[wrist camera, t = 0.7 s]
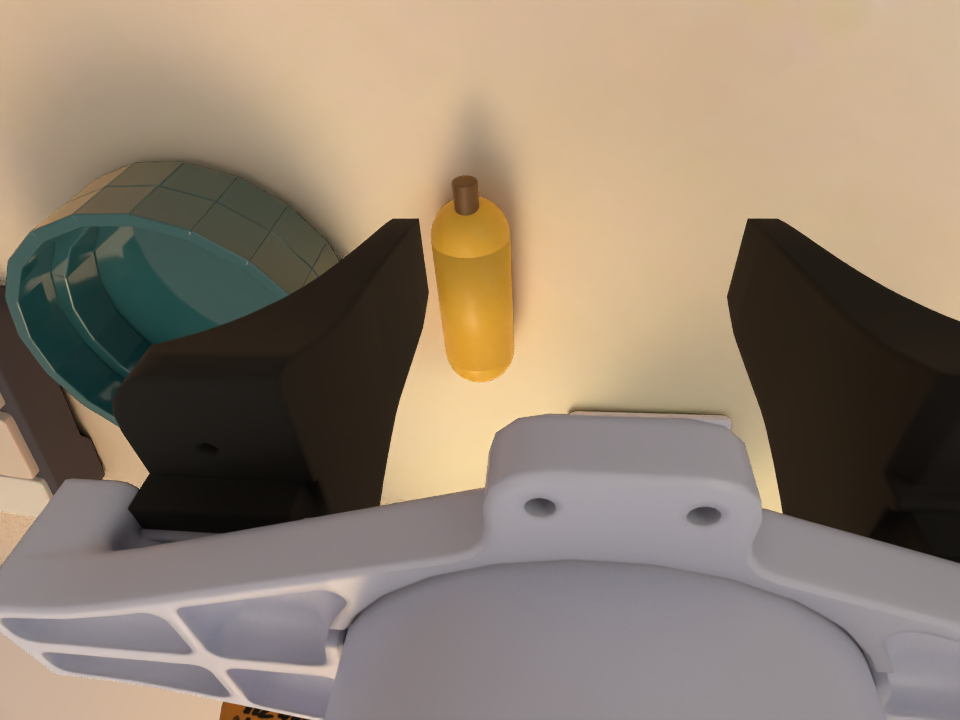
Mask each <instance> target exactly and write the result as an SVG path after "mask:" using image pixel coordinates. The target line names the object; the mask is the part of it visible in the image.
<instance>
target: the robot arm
mask: <svg viewBox="0 0 960 720" xmlns="http://www.w3.org/2000/svg"><path fill="white" fill-rule="evenodd" d="M428 294H429V291H428V284H427V277H426V269H425V262H424V255H423V247H422V240H421V233H420V225H419V219H392V220H390V221H389V222H387V223H386V224H385V225H383V226H382V227H381V228H380V229H379V230H377V231H376V232H375V233H374V234H373V235H372V236H370V237H369V238H368V239H367V240H366V241H364V242H363V243H362V244H361V245H360V246H358V247H357V248H356V249H355V250H353V251H352V252H351V253H350V254H349V255H347V256H346V257H345V258H344V259H342V260H341V261H339V262H338V263H337V264H335V265H334V266H333V267H331V268H330V269H328V270H327V271H326V272H324V273H323V274H322V275H320V276H319V277H317V278H316V279H314V280H313V281H311V282H310V283H308V284H307V285H305V286H303V287H302V288H300V289H298V290H296V291H295V292H293V293H291V294H290V295H288V296H286V297H284V298H282V299H280V300H278V301H276V302H274V303H272V304H270V305H268V306H266V307H263V308H261V309H259V310H257V311H255V312H253V313H251V314H248V315H246V316H244V317H241V318H238V319H236V320H233V321H231V322H228V323H225V324H223V325H220V326H217V327H214V328H211V329H208V330H205V331H202V332H199V333H195V334H192V335H188V336H184V337H181V338H177V339H173V340H170V341H166V342H162V343H158V344H154V345H151V346H150V348H149V349H148V350H147V351H146V353H145V354H144V355H143V357H142V358H141V359H140V361H139V362H138V363H137V364H136V366H135V367H134V368H133V370H132V371H131V372H130V373H129V375H128V376H127V377H126V379H125V380H124V381H123V383H122V384H121V385H120V386H119V388H118V389H117V390H116V393H115V395H114V398H113V401H112V407H113V415H114V417H115V419H116V421H117V423H118V425H119V427H120V429H121V431H122V433H123V434H124V436H125V437H126V439H127V440H128V442H129V443H130V445H131V446H132V448H133V449H134V451H135V452H136V454H137V455H138V457H139V458H140V460H141V461H142V462H143V464H144V465H145V467H146V468H147V470H148V471H149V473H150V474H149V475H148V477H147V479H146V480H145V482H144V483H143V485H142V487H141V488H140V489H139V488H138V487H136V486H134V485H132V484H130V483H127V482H122V481H113V480H94V479H75V478H72V479H66V480H65V481H64V482H63V484H62V485H61V486H60V488H59V489H58V490H57V492H56V493H55V494H54V496H53V497H52V498H51V500H50V501H49V502H48V504H47V505H46V506H45V508H44V509H43V510H42V512H41V513H40V514H39V516H38V517H37V518H36V520H35V521H34V522H33V524H32V525H31V526H30V528H29V529H28V530H27V532H26V533H25V535H24V536H23V537H22V539H21V540H20V541H19V543H18V544H17V545H16V547H15V548H14V549H13V551H12V552H11V553H10V555H9V556H8V557H7V559H6V560H5V561H4V563H3V564H2V565H1V567H0V632H1V633H2V634H4V635H5V636H6V637H7V638H9V639H10V640H11V641H13V642H14V643H15V644H17V645H18V646H19V647H21V648H22V649H23V650H24V651H26V652H27V653H28V654H30V655H31V656H32V657H34V658H35V659H36V660H38V661H39V662H40V663H41V664H43V665H44V666H45V667H47V668H48V669H49V670H51V671H52V672H53V673H55V674H57V675H66V676H74V677H84V678H92V679H101V680H110V681H116V682H122V683H129V684H135V685H142V686H148V687H154V688H159V689H165V690H170V691H175V692H180V693H185V694H190V695H195V696H201V697H205V698H210V699H215V700H220V701H224V702H229V703H234V704H238V705H243V706H248V707H253V708H257V709H262V710H267V711H272V712H277V713H281V714H286V715H291V716H296V717H300V718H305V719H310V720H960V321H957V320H955V319H952V318H950V317H947V316H945V315H942V314H940V313H938V312H935V311H933V310H931V309H928V308H926V307H924V306H922V305H920V304H918V303H916V302H914V301H912V300H910V299H908V298H906V297H903V296H901V295H899V294H897V293H895V292H894V291H892V290H890V289H888V288H886V287H884V286H883V285H881V284H879V283H877V282H876V281H874V280H872V279H871V278H869V277H867V276H865V275H864V274H862V273H860V272H859V271H857V270H856V269H854V268H852V267H851V266H849V265H848V264H846V263H845V262H843V261H842V260H840V259H838V258H837V257H836V256H834V255H833V254H831V253H830V252H828V251H827V250H825V249H824V248H822V247H821V246H819V245H818V244H816V243H815V242H814V241H812V240H811V239H809V238H808V237H806V236H805V235H803V234H802V233H800V232H799V231H797V230H796V229H794V228H793V227H791V226H790V225H788V224H787V223H785V222H783V221H781V220H779V219H748V220H747V223H746V227H745V231H744V235H743V239H742V242H741V246H740V250H739V254H738V257H737V261H736V265H735V269H734V272H733V276H732V280H731V284H730V288H729V291H728V295H727V299H728V306H729V312H730V318H731V323H732V328H733V333H734V336H735V339H736V342H737V345H738V348H739V351H740V354H741V357H742V359H743V362H744V365H745V368H746V371H747V373H748V376H749V379H750V382H751V384H752V387H753V390H754V393H755V396H756V398H757V401H758V404H759V407H760V409H761V413H762V416H763V419H764V423H765V426H766V430H767V435H768V439H769V444H770V448H771V453H772V458H773V462H774V467H775V473H776V478H777V483H778V489H779V494H780V499H781V505H782V512H783V514H781V513H778V512H774V511H771V510H767V509H764V508H762V506H761V499H760V495H759V492H758V488H757V485H756V481H755V478H754V475H753V471H752V468H751V464H750V461H749V457H748V454H747V450H746V447H745V443H744V442H743V441H742V440H741V439H739V438H738V437H737V436H736V435H735V434H734V433H732V432H731V427H732V424H731V420H730V419H729V417H727V416H723V415H694V414H659V413H624V412H589V411H574V412H572V413H570V414H543V415H537V416H530V417H523V418H518V419H516V420H515V421H513V422H512V423H510V424H509V425H507V426H506V427H504V428H503V429H501V430H500V431H498V432H496V434H495V437H494V440H493V442H492V445H491V448H490V451H489V457H488V466H487V475H486V484H485V488H479V489H473V490H468V491H462V492H456V493H451V494H445V495H439V496H433V497H428V498H422V499H416V500H411V501H405V502H399V503H394V504H388V505H382V506H380V500H381V494H382V487H383V481H384V475H385V469H386V464H387V458H388V452H389V447H390V442H391V436H392V431H393V426H394V421H395V416H396V412H397V408H398V404H399V400H400V397H401V394H402V391H403V388H404V385H405V382H406V379H407V375H408V372H409V369H410V366H411V363H412V360H413V357H414V354H415V351H416V348H417V345H418V341H419V338H420V335H421V332H422V329H423V324H424V319H425V313H426V307H427V300H428Z"/></svg>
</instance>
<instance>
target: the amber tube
mask: <svg viewBox="0 0 960 720" xmlns="http://www.w3.org/2000/svg"><path fill="white" fill-rule="evenodd" d="M452 189H453V200H451V201H450V202H448V203H447V204H446V205H444V206H443V207H442V208H441V210H440V211H439V212H438V213H437V215H436V217H435V220H434V222H433V225H432V230H431V243H432V251H433V258H434V266H435V273H436V280H437V288H438V295H439V303H440V310H441V318H442V325H443V332H444V340H445V347H446V354H447V358H448V361H449V363H450V365H451V366H452V368H453V369H454V371H455V372H456V373H458V374H459V375H460V376H461V377H463V378H465V379H467V380H470V381H473V382H487V381H491V380H493V379H495V378H497V377H499V376H500V375H501V374H503V373H504V372H505V371H506V369H507V368H508V367H509V365H510V363H511V361H512V358H513V354H514V331H513V302H512V273H511V244H510V230H509V224H508V222H507V219H506V217H505V215H504V214H503V212H502V211H501V210H500V208H499V207H497V206H496V205H495V204H494V203H493V202H491V201H489V200H487V199H485V198H483V197H479V195H478V181H477V179H476V178H475V177H473V176H459V177H457V178H455V179H454V180H453V181H452Z"/></svg>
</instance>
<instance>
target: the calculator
mask: <svg viewBox="0 0 960 720" xmlns="http://www.w3.org/2000/svg"><path fill="white" fill-rule="evenodd" d="M5 290H6V288H5V287H0V512H4V513H10V514H16V515H22V516H29V517H35V518H37V517H38V516H39V514H40V513H41V512H42V510H43V509H44V508H45V506H46V505H47V504H48V502H49V501H50V500H51V498H52V497H53V496H54V494H55V493H56V492H57V490H58V489H59V488H60V486H61V485H62V484H63V482H64V481H65V480H66V479H72V478H75V479H94V480H102V479H103V477H104V475H105V474H104V471H103V468H102V466H101V463H100V461H99V458H98V456H97V453H96V451H95V448H94V446H93V443H92V441H91V439H90V438H88V437H85V436H82V435H80V433H79V431H78V428H77V426H76V424H75V421H74V419H73V417H72V414H71V412H70V409H69V407H68V405H67V402H66V400H65V397H64V395H63V392H62V390H61V388H60V385H59V384H58V383H57V382H56V381H55V380H54V379H53V378H52V377H50V376H49V375H48V374H47V372H45V371H44V369H43V368H42V367H41V365H40V364H39V363H38V361H37V360H36V359H35V357H34V356H33V355H32V353H31V352H30V350H29V349H28V348H27V346H26V345H25V344H24V342H23V341H22V340H21V338H20V336H19V335H18V332H17V330H16V327H15V324H14V321H13V319H12V316H11V313H10V310H9V308H8V305H7V302H6V299H5V298H6V297H5Z"/></svg>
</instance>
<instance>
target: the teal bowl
mask: <svg viewBox="0 0 960 720" xmlns="http://www.w3.org/2000/svg"><path fill="white" fill-rule="evenodd" d="M338 262H339V260H338V258H337V257H336V255H335V253H334V252H333V250H332V249H331V247H330V245H329V244H328V243H327V242H326V240H325V239H324V238H323V237H322V236H321V235H320V234H319V233H318V232H317V231H316V230H315V229H314V228H312V227H311V226H310V225H309V224H308V223H307V222H306V221H305V220H304V219H303V218H302V217H301V216H300V215H299V214H297V213H296V212H295V211H294V210H293V209H292V208H291V207H290V206H287V204H286V203H284V202H283V201H281V200H279V199H277V198H276V197H274V196H272V195H270V194H268V193H267V192H265V191H263V190H261V189H260V188H258V187H256V186H254V185H252V184H251V183H249V182H247V181H245V180H244V179H242V178H240V177H238V178H237V176H234V175H230V174H226V173H223V172H219V171H215V170H212V169H208V168H205V167H201V166H197V165H194V164H190V163H185V162H141V163H133V164H130V165H128V166H125V167H123V168H121V169H118V170H116V171H114V172H111V173H109V174H106V175H104V176H102V177H99V178H97V179H96V180H94V181H93V182H92V183H90V184H89V185H88V186H87V187H85V188H84V189H83V190H82V191H80V192H79V193H78V194H77V195H75V196H74V197H73V198H72V199H70V200H69V201H68V202H67V203H65V204H64V205H63V206H61V207H60V208H59V209H58V210H56V211H55V212H54V213H53V214H51V215H50V216H49V217H48V218H46V219H45V220H44V221H43V222H41V223H40V224H39V225H38V226H36V227H35V228H34V229H33V230H31V231H30V232H29V234H28V235H27V236H26V238H25V239H24V240H23V241H22V243H21V244H20V245H19V247H18V248H17V249H16V250H15V252H14V253H13V254H12V256H11V257H10V258H9V260H8V266H7V278H6V290H5V297H6V298H5V299H6V302H7V305H8V308H9V310H10V313H11V316H12V319H13V321H14V324H15V327H16V330H17V332H18V335H19V336H20V338H21V340H22V341H23V342H24V344H25V345H26V346H27V348H28V349H29V350H30V352H31V353H32V355H33V356H34V357H35V359H36V360H37V361H38V363H39V364H40V365H41V367H42V368H43V369H44V371H45V372H47V374H48V375H49V376H50V377H52V378H53V379H54V380H55V381H56V382H57V383H58V384H60V385H61V386H62V387H63V388H64V389H65V390H66V391H68V392H69V393H70V394H71V395H72V396H73V397H74V398H76V399H77V400H78V401H79V402H80V403H81V404H83V405H84V406H86V407H87V408H89V409H90V410H92V411H94V412H95V413H97V414H99V415H100V416H102V417H104V418H105V419H107V420H109V421H110V422H112V423H113V424H115V425H117V426H118V427H119V425H118V423H117V421H116V419H115V417H114V415H113V407H112V401H113V398H114V395H115V393H116V390H117V389H118V388H119V386H120V385H121V384H122V383H123V381H124V380H125V379H126V377H127V376H128V375H129V373H130V372H131V371H132V370H133V368H134V367H135V366H136V364H137V363H138V362H139V361H140V359H141V358H142V357H143V355H144V354H145V353H146V351H147V350H148V349H149V348H150V346H151V345H154V344H158V343H162V342H166V341H170V340H173V339H177V338H181V337H184V336H188V335H192V334H195V333H199V332H202V331H205V330H208V329H211V328H214V327H217V326H220V325H223V324H225V323H228V322H231V321H233V320H236V319H238V318H241V317H244V316H246V315H248V314H251V313H253V312H255V311H257V310H259V309H261V308H263V307H266V306H268V305H270V304H272V303H274V302H276V301H278V300H280V299H282V298H284V297H286V296H288V295H290V294H291V293H293V292H295V291H296V290H298V289H300V288H302V287H303V286H305V285H307V284H308V283H310V282H311V281H313V280H314V279H316V278H317V277H319V276H320V275H322V274H323V273H324V272H326V271H327V270H328V269H330V268H331V267H333V266H334V265H335V264H337V263H338Z"/></svg>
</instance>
